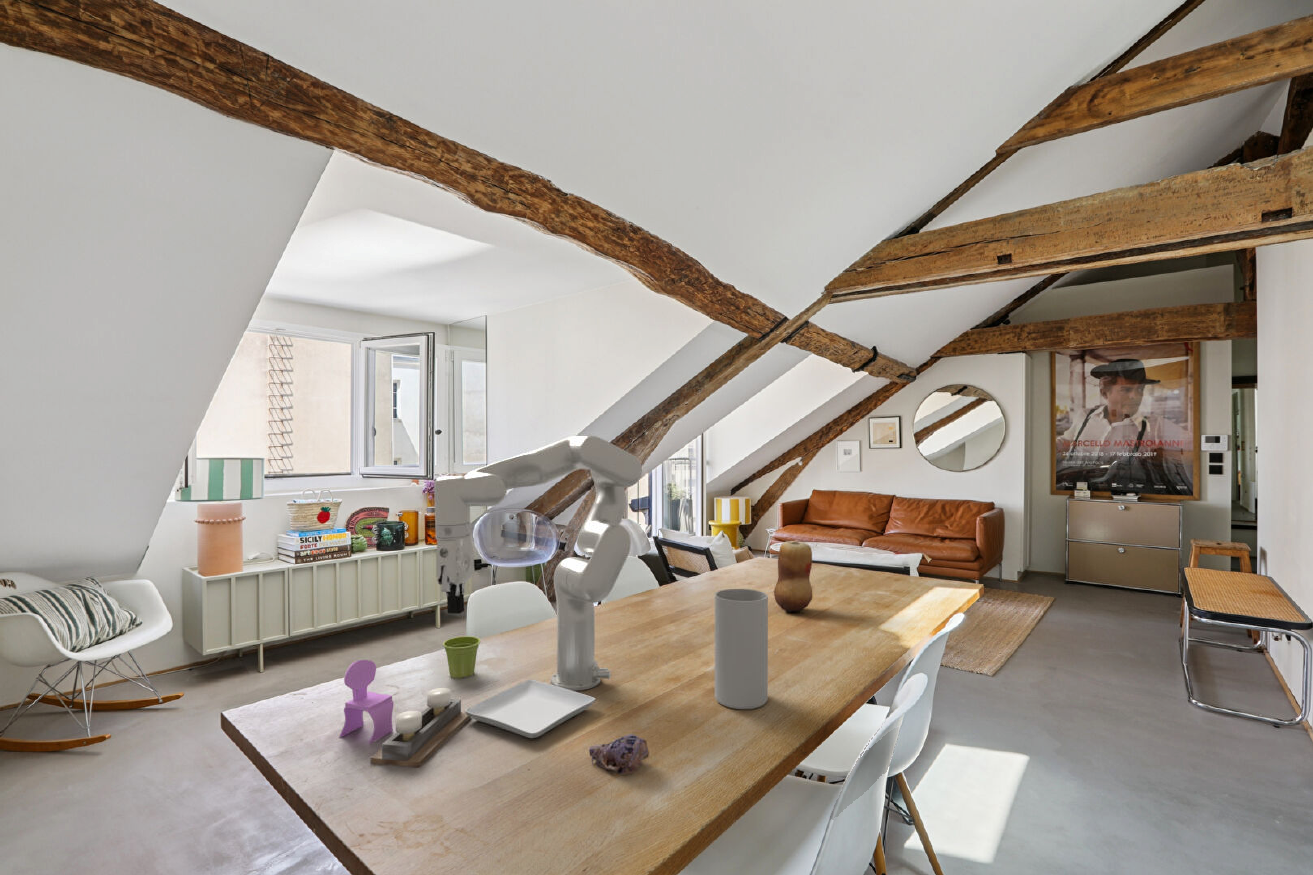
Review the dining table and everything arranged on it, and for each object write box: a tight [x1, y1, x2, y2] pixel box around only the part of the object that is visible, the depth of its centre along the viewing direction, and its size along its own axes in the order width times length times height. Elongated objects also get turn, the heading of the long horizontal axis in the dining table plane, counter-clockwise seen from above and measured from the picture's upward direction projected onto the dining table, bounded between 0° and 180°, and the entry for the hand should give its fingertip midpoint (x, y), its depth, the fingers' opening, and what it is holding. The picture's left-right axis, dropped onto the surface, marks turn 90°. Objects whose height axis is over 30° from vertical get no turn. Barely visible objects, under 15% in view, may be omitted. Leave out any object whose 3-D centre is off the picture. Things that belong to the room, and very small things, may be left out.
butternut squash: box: [773, 540, 813, 613], centre depth 232 cm, size 14×13×25 cm
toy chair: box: [339, 659, 394, 744], centre depth 135 cm, size 8×9×15 cm
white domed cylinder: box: [395, 710, 422, 742], centre depth 127 cm, size 5×5×5 cm
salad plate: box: [463, 678, 596, 739], centre depth 144 cm, size 21×21×3 cm
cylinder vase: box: [714, 588, 769, 710], centre depth 153 cm, size 12×12×25 cm
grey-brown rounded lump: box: [588, 734, 650, 776], centre depth 123 cm, size 12×8×6 cm, turn 58°
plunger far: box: [426, 687, 452, 718], centre depth 139 cm, size 5×5×5 cm
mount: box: [370, 698, 471, 768], centre depth 133 cm, size 10×22×4 cm, turn 171°
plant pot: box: [442, 635, 481, 679], centre depth 169 cm, size 9×9×9 cm
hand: (455, 612), depth 145 cm, fingers closed
